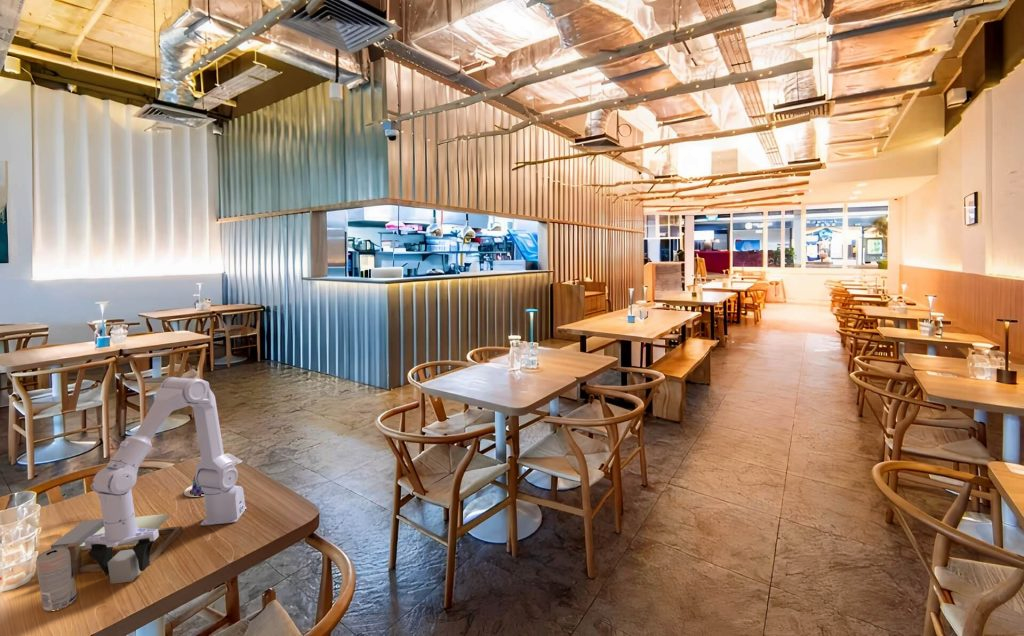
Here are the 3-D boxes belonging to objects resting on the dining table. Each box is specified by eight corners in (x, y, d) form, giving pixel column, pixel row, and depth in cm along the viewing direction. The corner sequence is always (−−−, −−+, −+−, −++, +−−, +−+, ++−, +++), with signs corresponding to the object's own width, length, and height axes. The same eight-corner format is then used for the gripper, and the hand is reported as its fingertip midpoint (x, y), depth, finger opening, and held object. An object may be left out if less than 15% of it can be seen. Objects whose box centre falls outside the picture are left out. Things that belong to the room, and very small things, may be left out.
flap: (169, 519, 129) (168, 511, 129) (142, 546, 117) (141, 537, 117) (86, 527, 126) (85, 519, 126) (50, 555, 114) (48, 546, 114)
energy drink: (74, 591, 108) (66, 542, 106) (79, 601, 105) (71, 551, 103) (42, 605, 104) (33, 554, 102) (45, 616, 101) (36, 564, 99)
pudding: (178, 491, 155) (176, 476, 154) (218, 477, 164) (217, 463, 163) (191, 502, 147) (189, 487, 146) (233, 487, 156) (231, 472, 156)
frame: (183, 529, 132) (179, 505, 131) (149, 565, 117) (145, 538, 116) (88, 539, 128) (84, 514, 127) (40, 577, 113) (36, 550, 112)
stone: (144, 568, 116) (141, 548, 115) (132, 581, 111) (129, 560, 110) (123, 571, 115) (120, 550, 114) (110, 583, 110) (107, 562, 110)
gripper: (71, 530, 106) (80, 585, 108) (143, 523, 108) (150, 577, 110) (93, 513, 113) (101, 565, 115) (160, 506, 115) (167, 558, 117)
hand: (127, 570), depth 113 cm, fingers open, 7 cm apart
